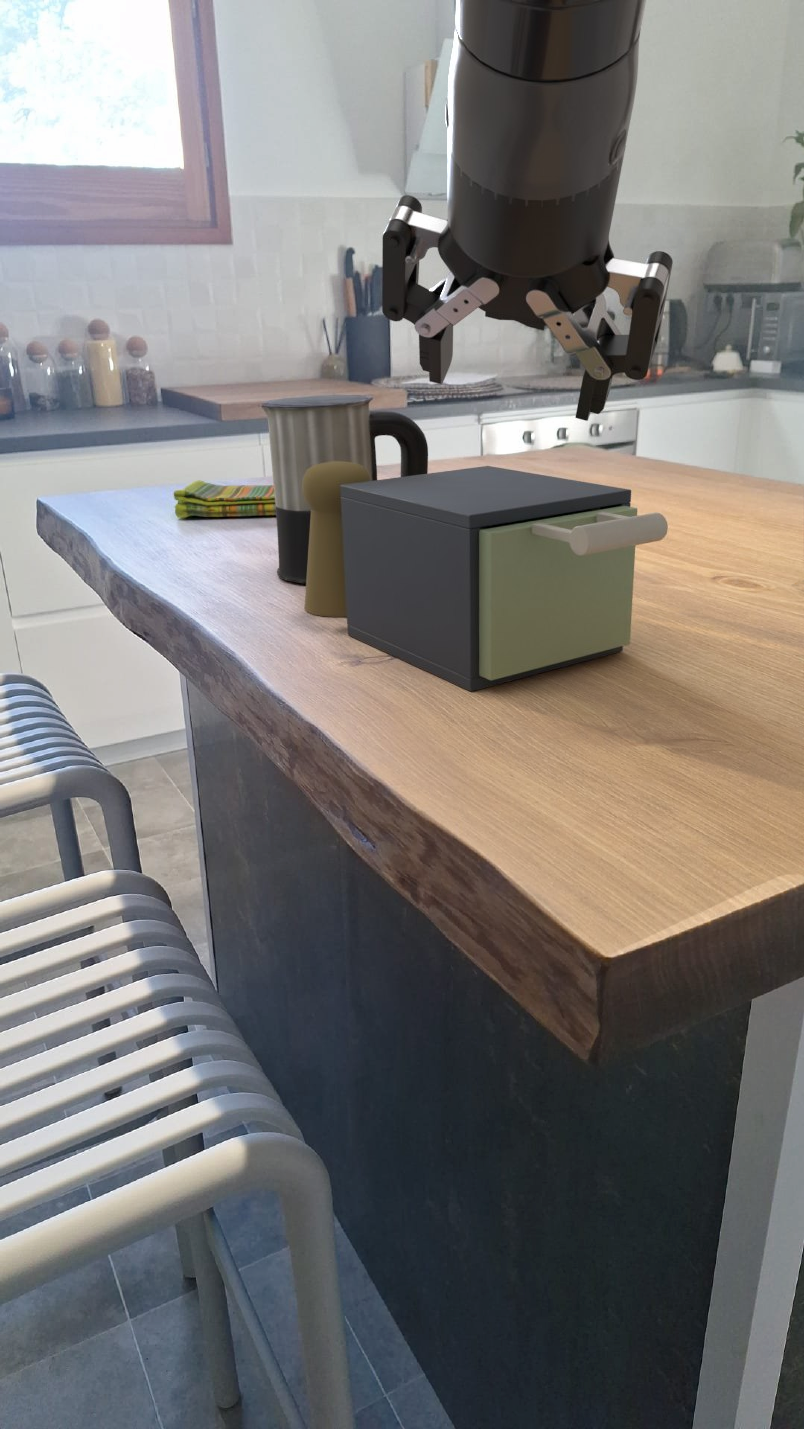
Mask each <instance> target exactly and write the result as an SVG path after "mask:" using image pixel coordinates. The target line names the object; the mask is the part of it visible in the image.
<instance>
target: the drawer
mask: <svg viewBox="0 0 804 1429" xmlns="http://www.w3.org/2000/svg"><path fill="white" fill-rule="evenodd" d="M480 528H481V530H479V675H480V676H481V677H484V678H486V679H488V680H495V679H499V678H503V677H507V676H510V675H514V674H518V673H522V672H526V671H529V670H533V669H537V668H541V667H545V666H548V665H552V664H556V663H560V662H564V661H567V660H571V659H575V658H579V657H583V656H586V655H590V654H594V653H598V652H602V651H605V650H609V649H613V648H617V647H621V646H623V647H624V646H629V645H630V644H631V633H632V632H631V630H632V614H633V599H634V598H633V595H634V578H635V563H636V562H635V560H636V546H639V545H645V544H649V543H654V542H660V541H662V540H663V539H664V538H665V537H666V536H667V535H668V529H669V528H668V520H667V519H666V517H665V515H663V513H662V514H661V513H660V512H650V513H644V514H640V515H638V508H637V507H634V506H630V507H628V506H619V507H613V508H608V509H602V510H600V508H594V509H588V510H582V511H576V512H570V513H564V514H558V515H552V516H546V517H540V518H534V519H528V520H522V521H516V522H510V523H504V524H498V525H492V526H486V527H480Z"/></svg>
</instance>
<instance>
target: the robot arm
mask: <svg viewBox="0 0 804 1429" xmlns="http://www.w3.org/2000/svg"><path fill="white" fill-rule="evenodd" d="M646 3H647V0H455V20H454V34H453V36H454V37H453V43H452V50H451V54H450V55H451V56H450V62H449V71H448V82H447V90H448V91H447V97H446V99H445V100H446V101H445V111H444V112H445V114H444V115H445V116H444V117H445V118H444V120H445V122H444V123H445V126H446V129H447V198H446V200H447V203H446V204H447V205H446V206H447V209H446V219H444V218H441V217H438V216H435V215H430V214H426V213H423V206H422V203H421V202H420V200H419V199H418V198H416V197H415V196H413V195H409V194H406V195H402V196H401V197H400V198H399V200H398V202H397V204H396V207H395V208H394V210H393V212H392V214H391V216H390V218H389V220H388V222H387V226H386V227H385V230H384V232H383V234H382V250H381V251H382V252H381V253H382V254H381V256H382V257H381V258H382V264H381V265H382V266H381V269H382V270H381V271H382V272H381V280H382V281H381V285H382V286H381V311H382V314H383V316H385V318H387V319H388V320H389V321H392V322H401V321H402V320H403V319H405V320H406V321H408V322H410V323H412V324H413V325H414V330H415V331H416V333H417V334H418V352H419V353H418V355H419V366H420V367H421V369H422V371H423V372H427V373H428V380H429V382H430V383H433V384H439V385H443V383H444V382H445V378H446V377H447V375H448V372H449V369H450V367H451V364H452V360H453V355H454V326H456V325H457V324H459V323H460V322H461V321H462V320H464V319H465V318H467V317H468V316H469V315H470V314H472V313H473V312H474V311H476V310H477V309H480V310H481V311H482V312H485V314H484V317H486V318H489V319H493V320H498V321H515V322H517V323H519V324H521V325H524V326H525V327H527V328H531V329H535V330H540V331H545V329H546V327H547V328H548V329H549V330H550V332H551V333H552V335H553V336H554V338H556V340H557V342H558V343H559V344H560V346H561V348H562V349H563V351H564V352H565V353H566V354H568V355H571V354H574V355H575V357H576V358H577V359H578V360H579V362H580V364H581V365H582V366H583V368H584V373H583V375H582V380H581V385H580V389H579V390H580V391H579V397H578V402H577V408H576V412H575V419H578V420H581V421H585V422H588V421H589V419H590V415H591V413H592V414H596V415H600V413H602V412H603V410H604V409H605V406H606V403H607V401H608V398H609V394H610V392H611V387H612V382H613V380H614V379H613V378H614V375H617V374H624V375H626V377H627V378H628V379H631V380H634V381H640V380H644V379H645V378H646V377H647V375H648V372H649V370H650V367H651V365H652V364H651V363H652V359H653V357H654V354H655V351H656V347H657V345H658V342H659V339H660V334H661V326H662V322H663V318H664V313H665V306H666V301H667V297H668V296H667V295H668V291H669V285H670V280H671V274H672V269H673V258H672V256H671V255H670V254H669V253H667V252H665V251H662V250H656V251H653V252H651V253H650V254H649V255H648V256H647V259H646V262H639V261H634V260H628V259H623V258H617V257H615V254H614V251H613V249H612V247H611V243H610V232H611V227H612V222H613V221H612V220H613V215H614V211H615V206H616V199H617V196H618V195H617V194H618V189H619V183H620V178H621V174H622V168H623V163H624V157H625V151H626V147H627V145H626V144H627V141H628V136H629V131H630V125H631V119H632V114H633V109H634V105H635V97H636V92H637V91H636V90H637V84H638V76H639V75H638V74H639V52H640V50H639V49H640V36H641V29H642V24H643V20H644V14H645V13H644V12H645V9H646ZM432 248H437V252H438V255H439V257H440V259H441V260H442V261H443V263H444V264H445V266H446V267H447V269H448V270H449V273H448V274H446V276H444V277H443V278H442V279H441V280H440V281H438V282H437V283H436V284H435V285H433V286H432V287H431V288H430V289H428V288H426V287H425V286H422V285H421V284H419V279H420V278H419V277H420V276H419V275H420V260H422V259H424V258H425V257H426V255H427V252H428V251H429V250H430V249H432ZM607 288H610V289H612V290H614V291H615V292H616V293H617V295H618V297H619V303H620V305H621V306H622V307H623V309H622V312H623V314H624V315H625V316H628V317H629V316H631V318H630V326H629V331H628V334H622V333H621V332H620V330H619V328H618V326H617V324H616V323H615V322H614V320H613V319H612V317H611V315H610V314H609V313H608V310H607V300H606V297H605V295H604V292H605V291H606V290H607Z"/></svg>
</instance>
